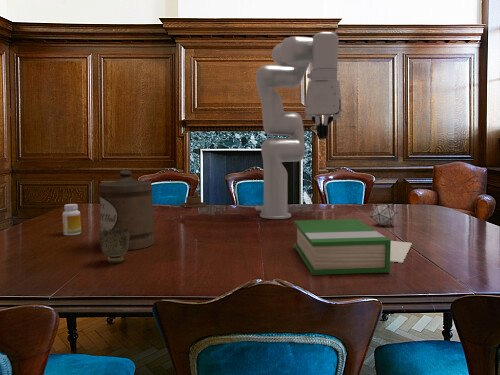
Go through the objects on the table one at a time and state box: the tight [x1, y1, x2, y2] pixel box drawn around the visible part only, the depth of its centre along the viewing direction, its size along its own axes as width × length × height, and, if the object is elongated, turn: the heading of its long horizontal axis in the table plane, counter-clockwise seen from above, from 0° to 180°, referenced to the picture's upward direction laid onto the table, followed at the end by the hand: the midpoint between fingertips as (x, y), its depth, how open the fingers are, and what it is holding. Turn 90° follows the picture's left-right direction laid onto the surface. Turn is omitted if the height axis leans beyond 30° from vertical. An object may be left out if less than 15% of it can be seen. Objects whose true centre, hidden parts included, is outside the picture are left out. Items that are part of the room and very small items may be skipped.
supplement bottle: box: [62, 203, 82, 236], centre depth 134 cm, size 5×5×10 cm
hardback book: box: [293, 218, 392, 276], centre depth 103 cm, size 18×7×24 cm
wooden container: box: [98, 168, 155, 251], centre depth 119 cm, size 15×15×22 cm
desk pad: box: [390, 240, 413, 264], centre depth 114 cm, size 20×22×1 cm
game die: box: [369, 202, 399, 227], centre depth 147 cm, size 9×8×10 cm
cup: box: [98, 228, 130, 264], centre depth 102 cm, size 8×7×8 cm
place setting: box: [180, 190, 212, 209], centre depth 200 cm, size 18×20×6 cm
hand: (322, 138), depth 125 cm, fingers closed
